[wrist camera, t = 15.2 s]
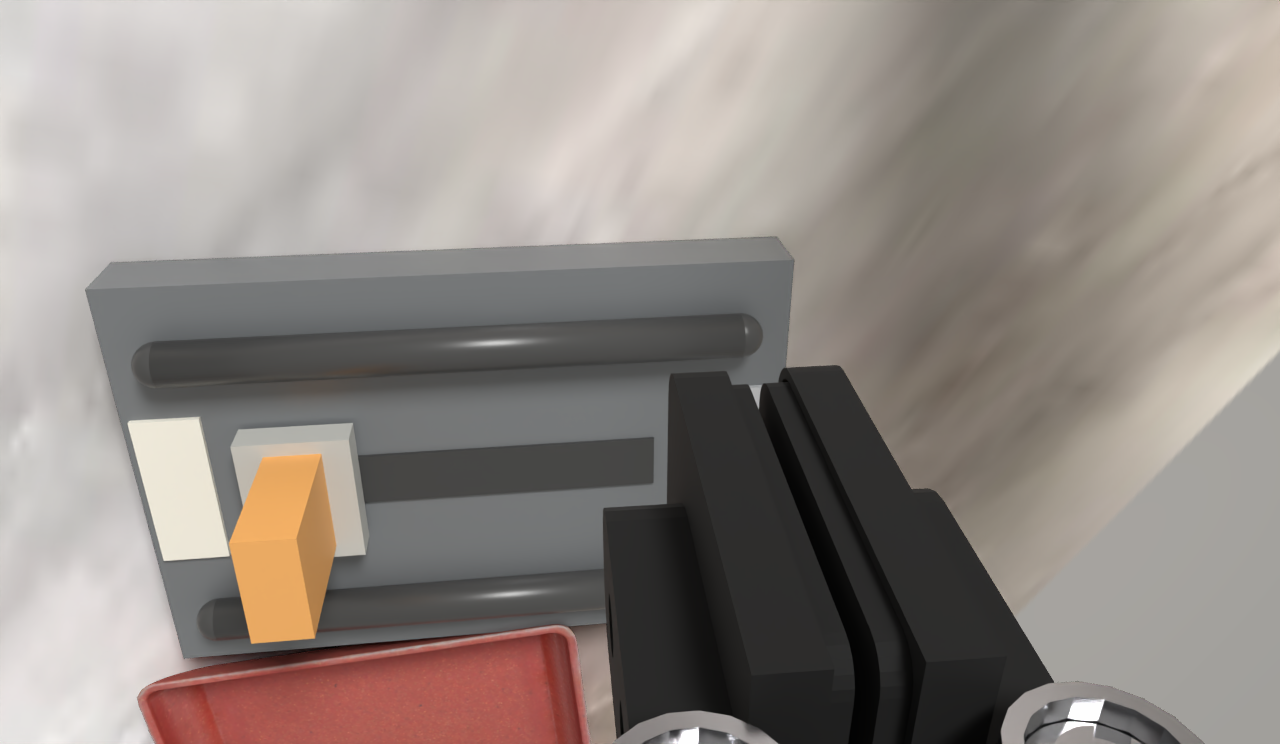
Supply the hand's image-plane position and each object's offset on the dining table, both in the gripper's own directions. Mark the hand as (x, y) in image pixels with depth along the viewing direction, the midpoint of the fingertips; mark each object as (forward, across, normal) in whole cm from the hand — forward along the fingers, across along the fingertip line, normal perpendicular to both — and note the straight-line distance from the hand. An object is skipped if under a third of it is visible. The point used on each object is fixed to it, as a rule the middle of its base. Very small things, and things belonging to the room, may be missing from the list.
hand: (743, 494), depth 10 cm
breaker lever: (+23, +11, +16) cm, 30 cm away
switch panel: (+26, +5, +16) cm, 31 cm away
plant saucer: (+26, +10, +33) cm, 43 cm away
